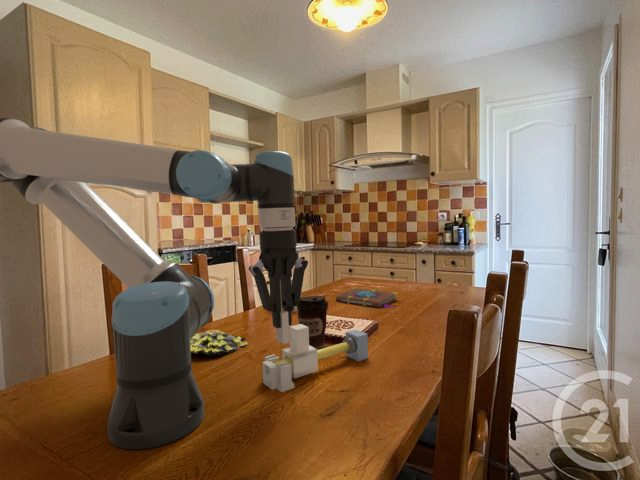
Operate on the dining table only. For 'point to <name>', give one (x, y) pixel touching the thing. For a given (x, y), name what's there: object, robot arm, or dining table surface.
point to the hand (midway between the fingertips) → (283, 341)
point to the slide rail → (353, 345)
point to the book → (367, 297)
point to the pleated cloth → (215, 343)
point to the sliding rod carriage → (301, 352)
